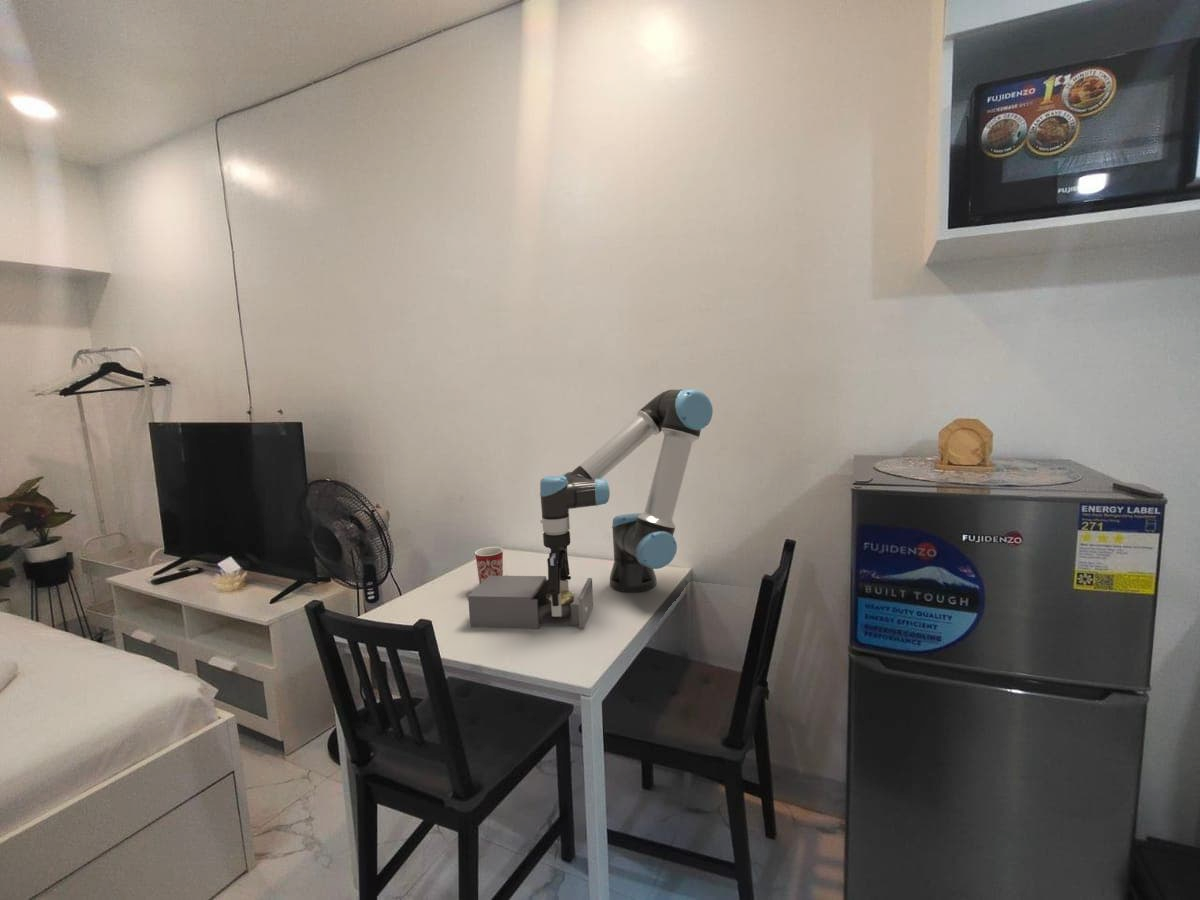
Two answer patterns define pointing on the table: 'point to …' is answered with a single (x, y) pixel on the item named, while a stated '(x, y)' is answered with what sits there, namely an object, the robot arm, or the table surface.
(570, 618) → the tray
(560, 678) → the table surface
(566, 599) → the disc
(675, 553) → the robot arm
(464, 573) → the table surface
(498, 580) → the housing
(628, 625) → the table surface
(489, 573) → the mug
